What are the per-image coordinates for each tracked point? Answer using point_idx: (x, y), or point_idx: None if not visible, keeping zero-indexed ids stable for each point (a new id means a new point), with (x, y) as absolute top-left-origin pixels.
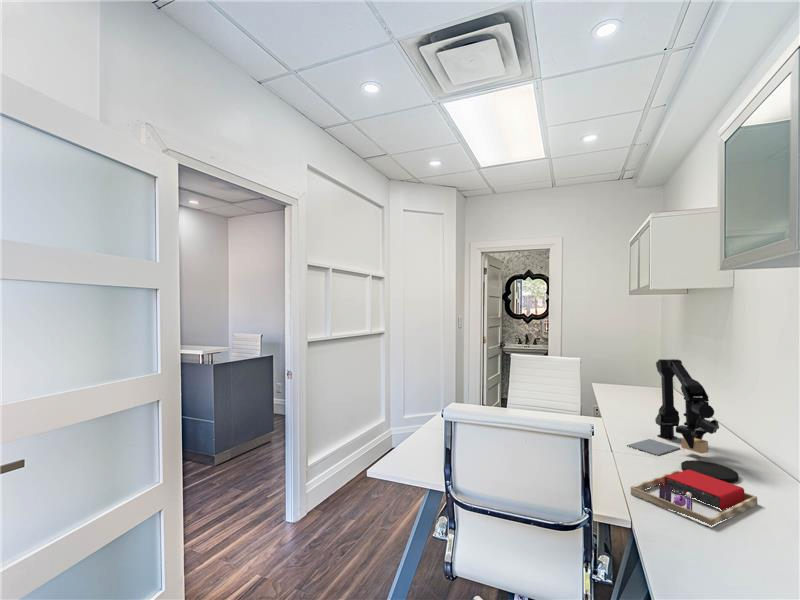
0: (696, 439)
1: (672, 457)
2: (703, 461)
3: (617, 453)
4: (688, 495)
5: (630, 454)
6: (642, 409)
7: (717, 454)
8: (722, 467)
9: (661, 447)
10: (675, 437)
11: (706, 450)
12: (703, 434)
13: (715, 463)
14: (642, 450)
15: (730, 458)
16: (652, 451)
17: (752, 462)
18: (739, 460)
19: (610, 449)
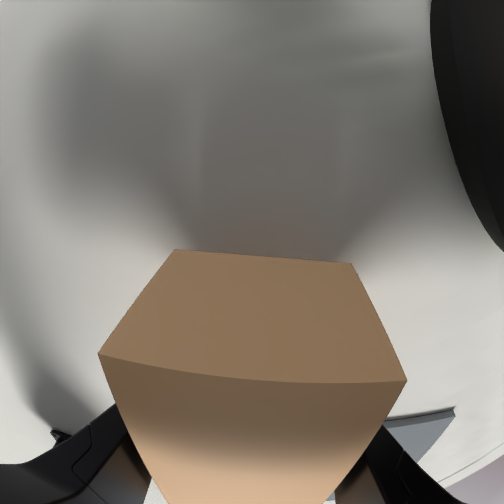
0: (205, 470)
1: (430, 376)
2: (492, 177)
3: (488, 448)
4: None
5: (482, 439)
6: (8, 462)
7: (36, 223)
8: (495, 16)
9: None
10: (64, 438)
11: (219, 264)
12: (36, 477)
13: (459, 71)
14: (416, 460)
15: (35, 118)
16: (414, 446)
17: (15, 15)
18: (30, 63)
19: (456, 473)
